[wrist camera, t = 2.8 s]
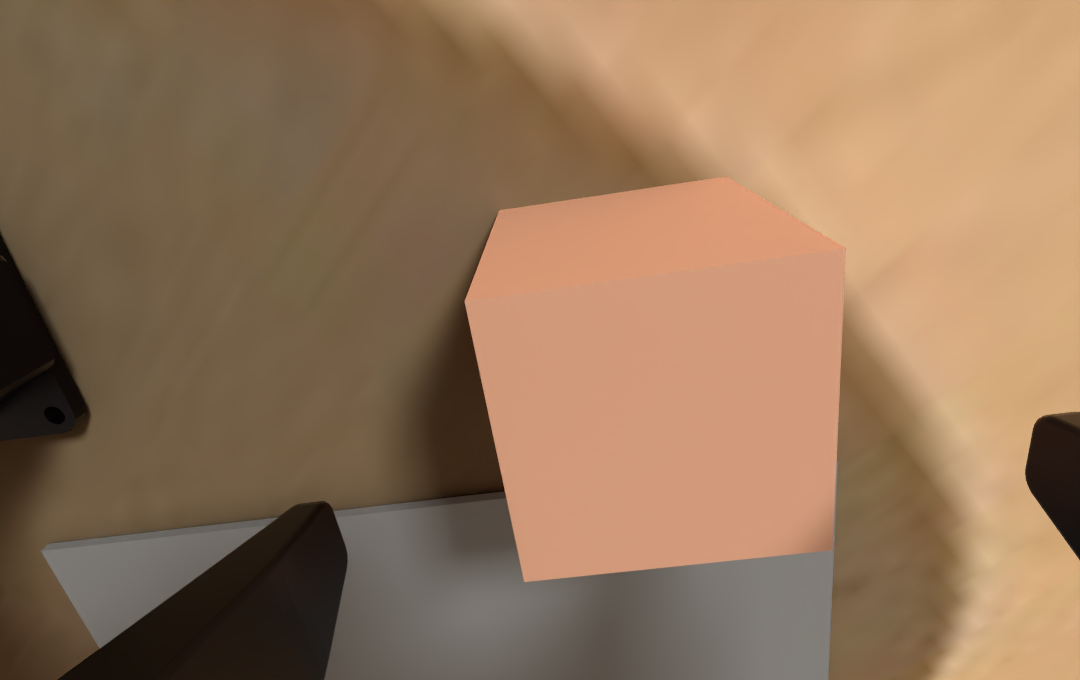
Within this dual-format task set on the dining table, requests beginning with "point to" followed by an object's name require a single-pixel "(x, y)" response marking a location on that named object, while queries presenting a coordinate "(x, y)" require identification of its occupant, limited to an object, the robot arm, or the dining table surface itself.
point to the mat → (492, 601)
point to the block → (661, 378)
